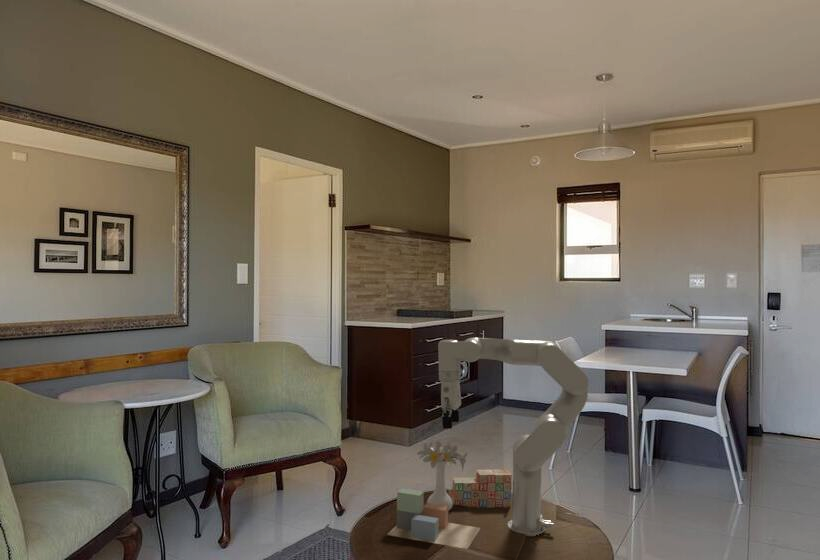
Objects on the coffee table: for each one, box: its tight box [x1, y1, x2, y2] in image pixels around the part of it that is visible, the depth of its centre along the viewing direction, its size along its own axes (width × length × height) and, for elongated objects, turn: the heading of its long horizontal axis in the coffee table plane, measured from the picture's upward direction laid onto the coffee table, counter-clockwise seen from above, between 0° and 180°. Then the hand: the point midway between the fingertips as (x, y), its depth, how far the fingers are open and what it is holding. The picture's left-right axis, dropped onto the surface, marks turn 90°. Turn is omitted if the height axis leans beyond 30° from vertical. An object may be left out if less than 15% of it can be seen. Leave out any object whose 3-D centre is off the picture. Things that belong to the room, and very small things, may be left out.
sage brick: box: [396, 488, 425, 514], centre depth 200 cm, size 8×4×6 cm, turn 69°
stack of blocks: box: [451, 468, 513, 508], centre depth 224 cm, size 21×6×12 cm, turn 94°
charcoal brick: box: [396, 509, 423, 530], centre depth 200 cm, size 8×4×6 cm, turn 70°
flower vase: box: [417, 440, 469, 511], centre depth 216 cm, size 13×18×25 cm
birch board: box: [386, 522, 481, 550], centre depth 197 cm, size 27×17×1 cm, turn 70°
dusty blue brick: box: [411, 515, 439, 542], centre depth 193 cm, size 8×4×6 cm, turn 70°
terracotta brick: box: [423, 502, 450, 528], centre depth 203 cm, size 8×4×6 cm, turn 70°
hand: (451, 425), depth 207 cm, fingers open, 9 cm apart
